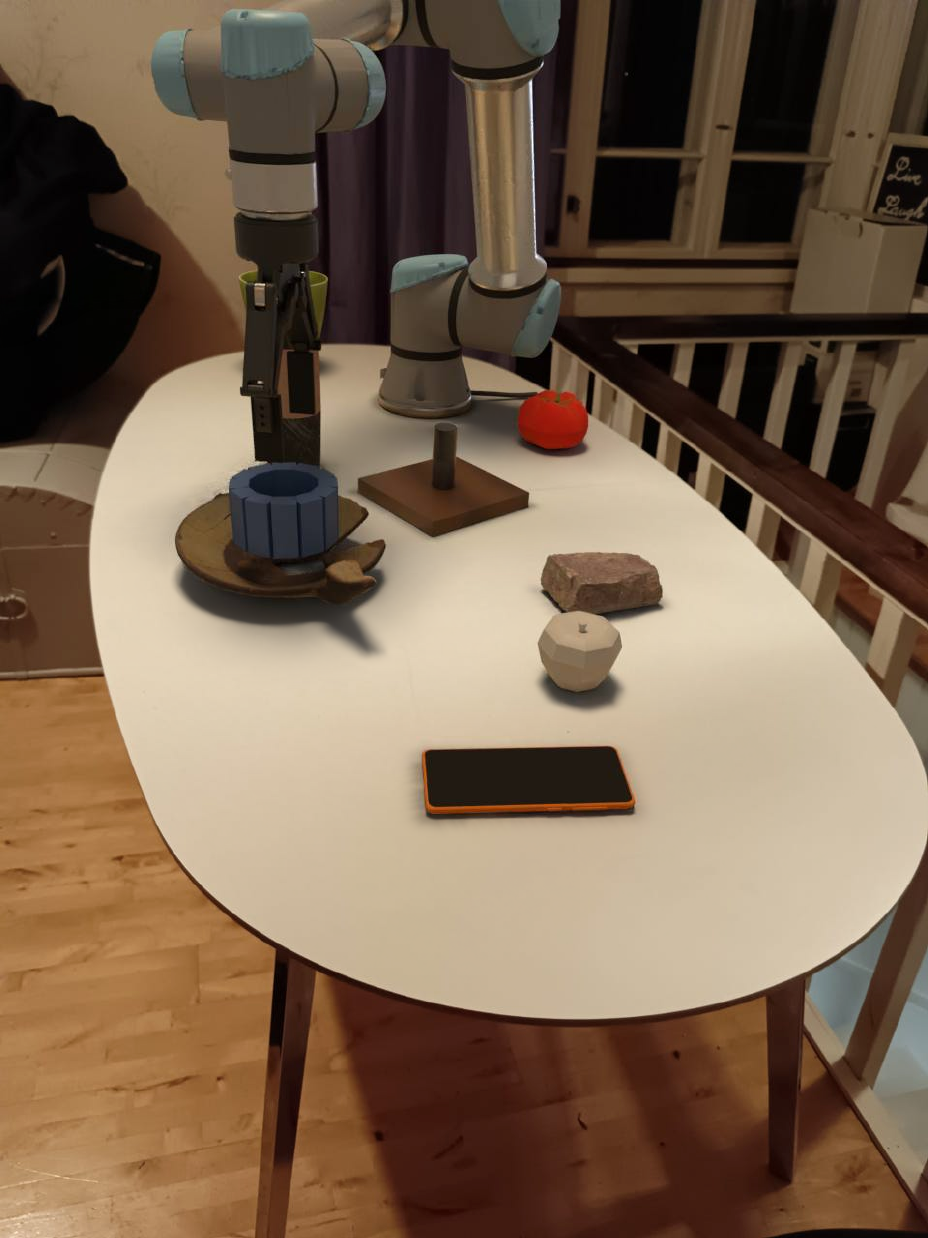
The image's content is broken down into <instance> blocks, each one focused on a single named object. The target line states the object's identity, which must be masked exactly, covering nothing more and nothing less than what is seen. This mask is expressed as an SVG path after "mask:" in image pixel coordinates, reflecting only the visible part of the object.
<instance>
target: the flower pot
mask: <svg viewBox="0 0 928 1238" xmlns="http://www.w3.org/2000/svg"><path fill="white" fill-rule="evenodd" d="M257 271H258V269H256V270H250V271H246V272H242V273H241V274H240V275H238V283H239V288H240V292H241V297H242V302H243V305H244V310H245V312H246V311H247V306H246V290H245V287H246V283H247V281H251V282H254V281H255V280H257ZM309 280H310V286H311V293H312V299H313V305H314V311H315V317H316V322H317V324H318V340H320V336H321V331H322V326H323V321H324V316H325V311H326V310H325V309H326V301H327V291H328V282H329V278H328V277H327V276H326V275H325V274H323V273H320V272H318V271H317V272H316V271H313V270H312V271H311V270H309ZM262 310H263V309H262Z"/></svg>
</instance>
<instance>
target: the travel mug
mask: <svg viewBox="0 0 928 1238" xmlns="http://www.w3.org/2000/svg"><path fill="white" fill-rule="evenodd" d="M316 323H317V322H316ZM317 330H318V324H317ZM317 340H318V337H317ZM288 351H294V349H290V347H289V344H288V341H287V338H286V335H285V337H284V345H283V353H282V361H281V369H280V377H279V385H278V394H281V398H282V416H283V434H284V452H285V461H284V462H283V463H288V462H296V465H297V464H299V463H303V464H308V465H313V466H318V467H320V468H321V436H322V435H321V434H322V433H321V431H322V430H321V425H322V423H321V422H322V421H321V418H322V417H321V416H322V411H321V408H322V406H321V405H322V404H321V379H320V376H321V375H320V351H313V350H310V352H311V353H314V375H315V403H316V413H315V415H310V414H297V413H290V411H289V391H288V372H287V352H288ZM260 384H264V383H263V382H262V381H260ZM267 463H269V464H270V465H272V463H274V462H266V464H267Z"/></svg>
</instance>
